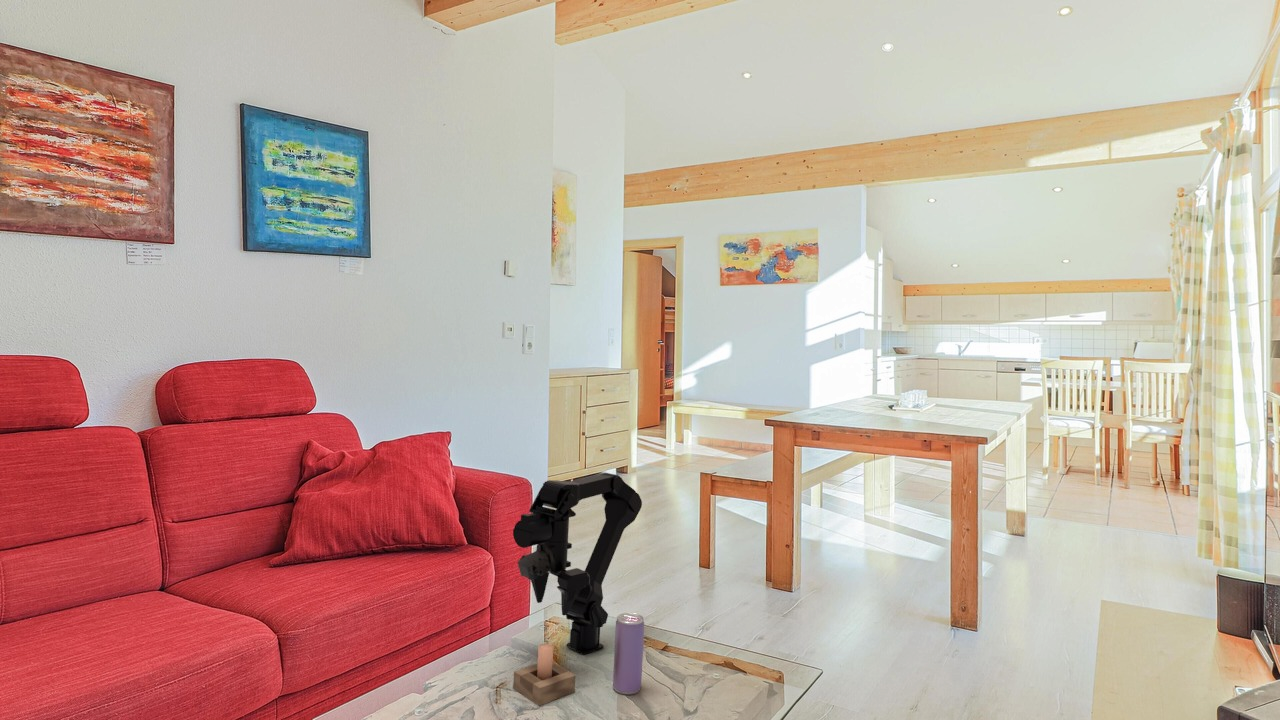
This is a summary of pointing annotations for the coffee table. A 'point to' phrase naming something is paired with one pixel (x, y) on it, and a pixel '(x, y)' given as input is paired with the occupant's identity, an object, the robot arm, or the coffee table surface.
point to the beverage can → (628, 653)
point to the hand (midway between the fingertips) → (551, 608)
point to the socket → (544, 684)
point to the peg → (545, 661)
